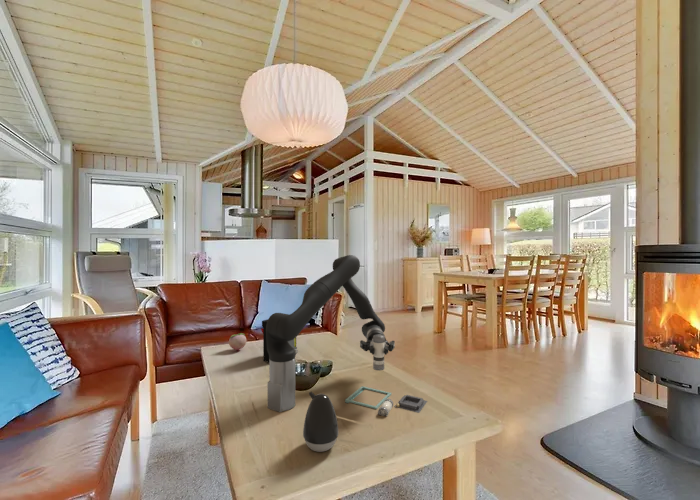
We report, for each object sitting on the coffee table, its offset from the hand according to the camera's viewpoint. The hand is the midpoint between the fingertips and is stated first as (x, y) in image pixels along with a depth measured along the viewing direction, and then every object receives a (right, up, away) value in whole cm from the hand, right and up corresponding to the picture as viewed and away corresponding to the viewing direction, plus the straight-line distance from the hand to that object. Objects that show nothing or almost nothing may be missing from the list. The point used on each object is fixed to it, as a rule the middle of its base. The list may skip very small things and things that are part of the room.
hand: (379, 351), depth 124 cm
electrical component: (-46, -19, +53) cm, 73 cm away
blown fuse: (0, -7, +3) cm, 8 cm away
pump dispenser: (-19, -20, -24) cm, 37 cm away
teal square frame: (-4, -20, +5) cm, 21 cm away
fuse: (+2, -20, -5) cm, 21 cm away
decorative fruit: (-71, -18, +63) cm, 97 cm away
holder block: (+12, -20, 0) cm, 23 cm away
